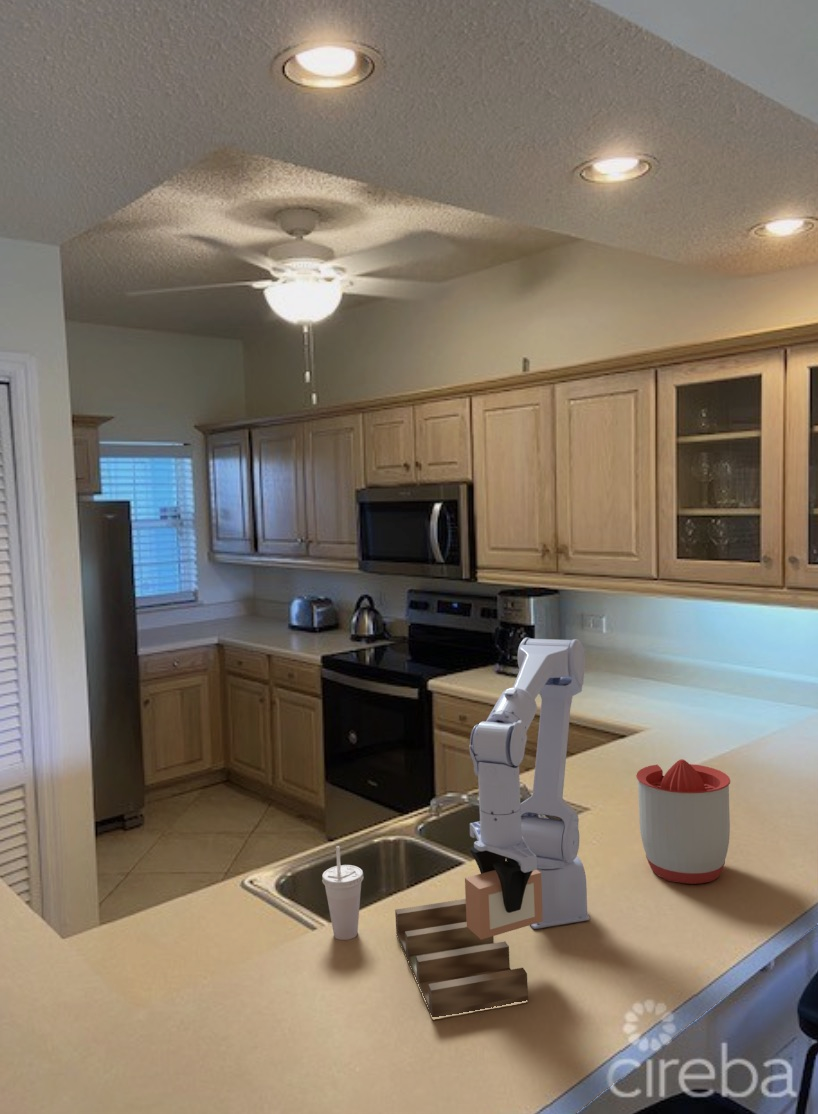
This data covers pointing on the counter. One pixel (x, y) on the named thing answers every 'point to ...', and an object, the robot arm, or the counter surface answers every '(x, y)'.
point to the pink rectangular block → (500, 905)
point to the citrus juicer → (684, 821)
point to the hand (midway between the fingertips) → (503, 902)
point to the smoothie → (343, 897)
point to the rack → (457, 960)
